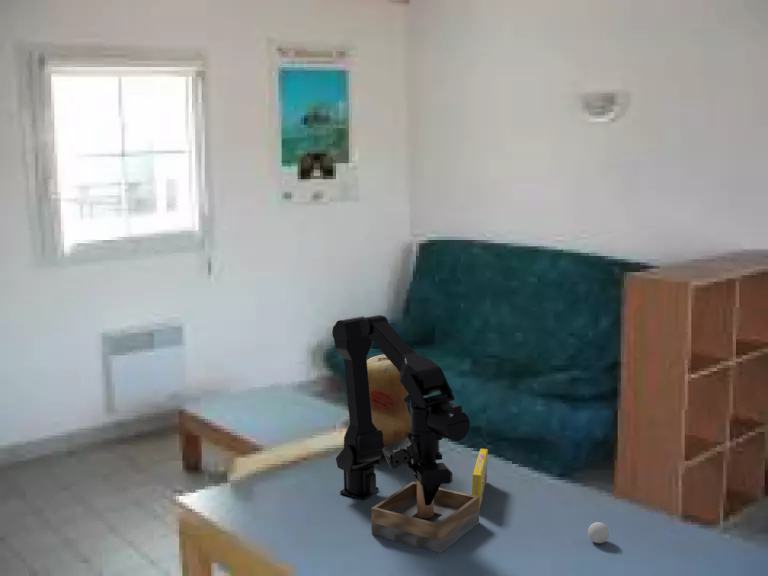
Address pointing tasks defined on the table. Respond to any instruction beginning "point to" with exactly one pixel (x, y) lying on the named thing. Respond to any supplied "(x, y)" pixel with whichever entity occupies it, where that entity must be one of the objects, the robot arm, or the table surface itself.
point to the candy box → (480, 475)
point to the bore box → (431, 533)
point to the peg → (423, 504)
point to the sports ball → (598, 532)
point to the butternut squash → (388, 400)
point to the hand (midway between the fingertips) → (425, 501)
